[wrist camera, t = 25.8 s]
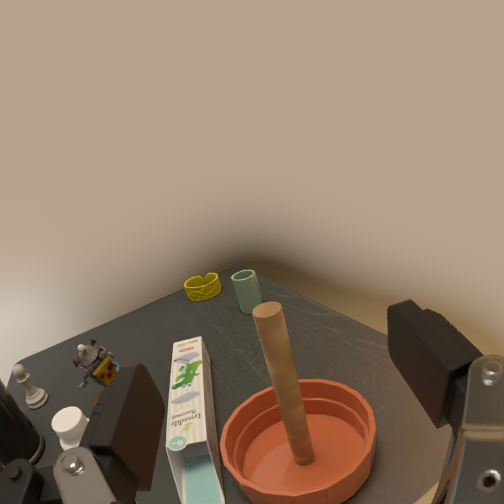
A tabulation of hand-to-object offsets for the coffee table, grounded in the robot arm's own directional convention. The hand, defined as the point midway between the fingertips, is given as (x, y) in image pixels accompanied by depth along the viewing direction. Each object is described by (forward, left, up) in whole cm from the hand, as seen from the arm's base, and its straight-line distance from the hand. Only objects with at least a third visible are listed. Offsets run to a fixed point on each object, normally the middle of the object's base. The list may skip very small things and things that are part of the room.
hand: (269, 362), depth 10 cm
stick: (+2, +11, -22) cm, 24 cm away
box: (-8, +21, -23) cm, 32 cm away
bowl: (+2, +11, -23) cm, 25 cm away
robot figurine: (-19, +29, -23) cm, 41 cm away
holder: (+5, +47, -23) cm, 52 cm away
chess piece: (-38, +34, -23) cm, 56 cm away
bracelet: (-3, +61, -23) cm, 65 cm away
